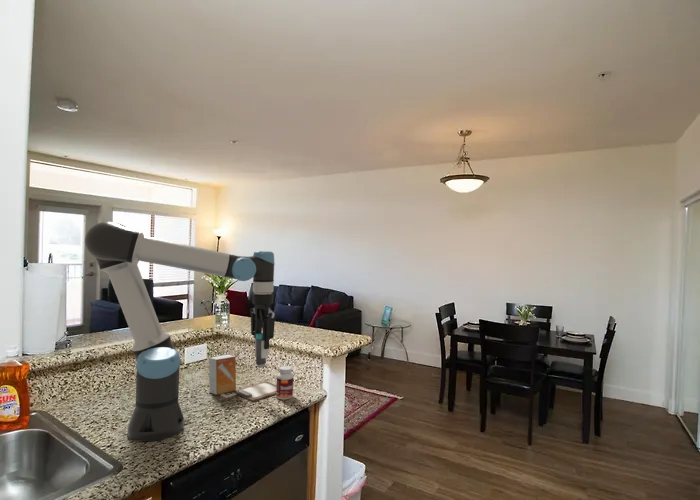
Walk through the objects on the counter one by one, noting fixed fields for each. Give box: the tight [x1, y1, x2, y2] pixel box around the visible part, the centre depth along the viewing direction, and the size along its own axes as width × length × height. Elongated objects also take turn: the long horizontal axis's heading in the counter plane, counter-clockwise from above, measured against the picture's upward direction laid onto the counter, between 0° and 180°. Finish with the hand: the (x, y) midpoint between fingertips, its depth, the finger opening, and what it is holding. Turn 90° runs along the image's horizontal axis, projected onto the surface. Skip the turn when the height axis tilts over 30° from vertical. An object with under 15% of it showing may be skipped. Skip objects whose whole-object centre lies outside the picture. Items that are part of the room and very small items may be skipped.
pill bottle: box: [275, 365, 294, 401], centre depth 148 cm, size 6×6×11 cm
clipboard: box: [232, 380, 277, 403], centre depth 152 cm, size 16×13×1 cm
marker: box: [255, 332, 267, 369], centre depth 145 cm, size 4×4×12 cm
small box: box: [208, 354, 237, 395], centre depth 151 cm, size 8×6×13 cm
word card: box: [218, 391, 238, 399], centre depth 149 cm, size 7×5×1 cm
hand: (261, 356), depth 145 cm, fingers closed on marker, 3 cm apart
